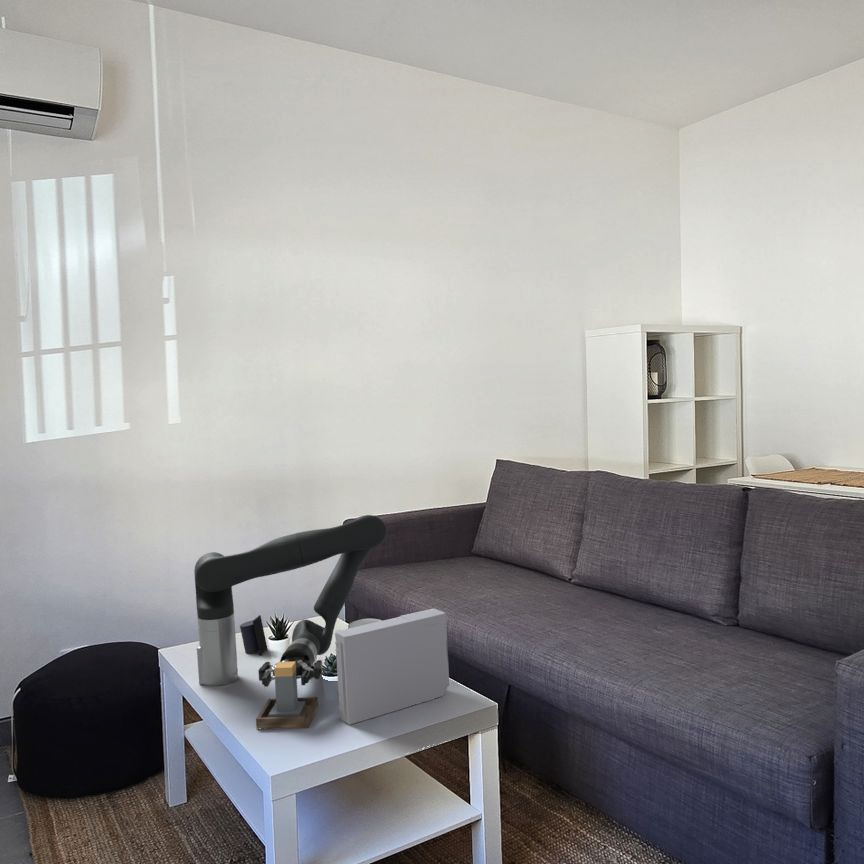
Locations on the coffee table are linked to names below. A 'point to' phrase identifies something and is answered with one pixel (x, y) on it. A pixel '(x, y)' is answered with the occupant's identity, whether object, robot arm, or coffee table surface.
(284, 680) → the plug
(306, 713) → the tray
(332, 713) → the coffee table surface
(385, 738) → the coffee table surface
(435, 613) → the game console
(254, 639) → the speaker
